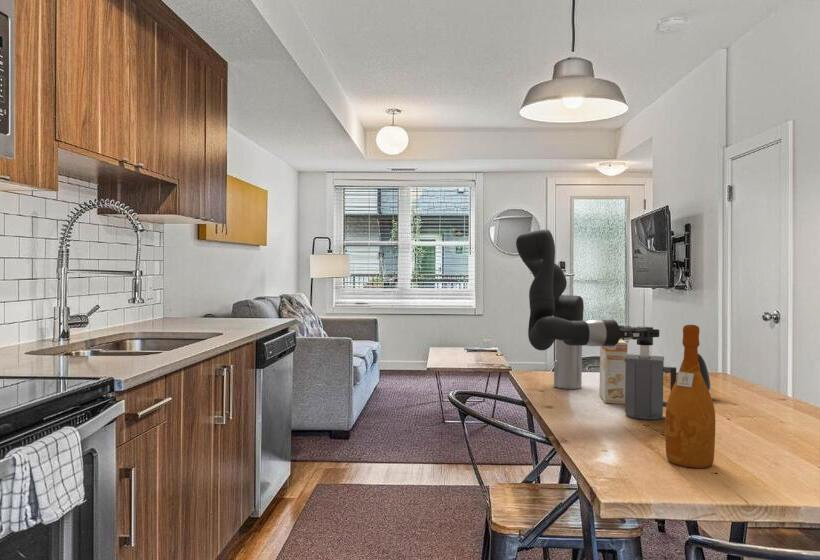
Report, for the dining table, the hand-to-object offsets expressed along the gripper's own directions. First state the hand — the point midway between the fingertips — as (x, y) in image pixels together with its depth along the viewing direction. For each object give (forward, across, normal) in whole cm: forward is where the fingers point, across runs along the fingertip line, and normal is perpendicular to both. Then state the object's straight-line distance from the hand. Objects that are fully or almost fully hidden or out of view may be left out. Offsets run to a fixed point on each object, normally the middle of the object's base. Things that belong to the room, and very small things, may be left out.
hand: (653, 332), depth 174 cm
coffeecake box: (0, +24, +24) cm, 34 cm away
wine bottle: (-17, -41, +24) cm, 51 cm away
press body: (-1, -1, +24) cm, 24 cm away
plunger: (-3, 0, +21) cm, 22 cm away
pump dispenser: (+29, +22, +24) cm, 44 cm away
